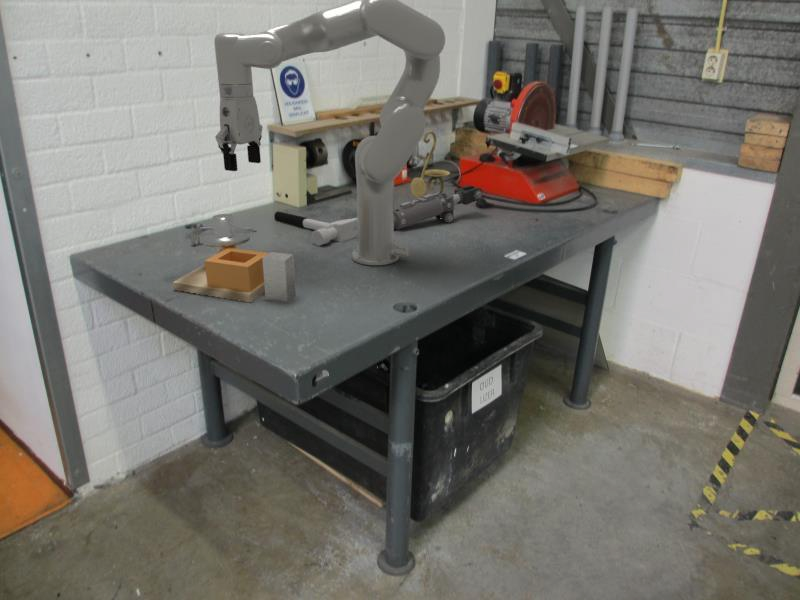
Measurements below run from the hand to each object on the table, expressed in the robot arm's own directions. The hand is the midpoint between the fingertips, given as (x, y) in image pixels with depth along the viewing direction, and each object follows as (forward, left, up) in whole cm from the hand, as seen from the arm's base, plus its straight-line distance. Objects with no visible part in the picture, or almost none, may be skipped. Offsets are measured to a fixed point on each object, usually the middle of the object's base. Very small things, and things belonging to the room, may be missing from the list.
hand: (243, 166), depth 151 cm
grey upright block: (-17, +16, -25) cm, 34 cm away
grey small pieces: (+18, -16, -26) cm, 36 cm away
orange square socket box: (-2, +11, -25) cm, 28 cm away
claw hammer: (-1, -34, -26) cm, 43 cm away
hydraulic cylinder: (-33, -52, -26) cm, 67 cm away
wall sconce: (-27, -73, -26) cm, 82 cm away
